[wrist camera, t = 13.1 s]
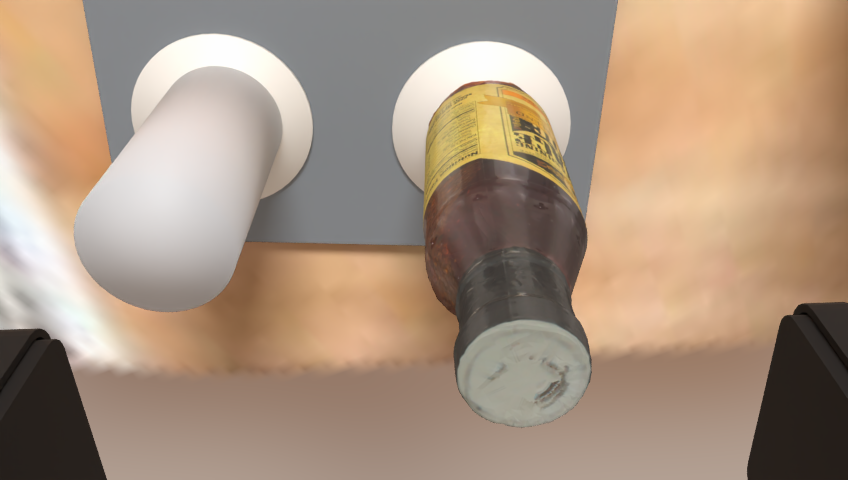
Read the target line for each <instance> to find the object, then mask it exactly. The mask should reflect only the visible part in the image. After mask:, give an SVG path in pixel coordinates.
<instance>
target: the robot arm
mask: <svg viewBox="0 0 848 480" xmlns="http://www.w3.org/2000/svg"><path fill="white" fill-rule="evenodd" d="M747 477H748V480H848V303H846V302H834V303H804V304H800V305H798V307H797V308H796V309H795V311H794V314H793V315H787V316H784V317H783V319H782V320H781V323H780V326H779V330H778V335H777V339H776V343H775V348H774V352H773V356H772V361H771V365H770V370H769V374H768V378H767V382H766V387H765V391H764V396H763V401H762V404H761V409H760V413H759V417H758V422H757V426H756V430H755V435H754V439H753V443H752V448H751V452H750V456H749V461H748V467H747ZM0 480H107V478H106V475H105V472H104V469H103V466H102V463H101V460H100V457H99V454H98V451H97V447H96V444H95V441H94V438H93V435H92V432H91V429H90V426H89V423H88V419H87V416H86V413H85V410H84V407H83V404H82V401H81V398H80V395H79V392H78V388H77V386H76V383H75V379H74V376H73V373H72V370H71V367H70V364H69V361H68V357H67V354H66V351H65V348H64V346H63V344H62V343H61V342H60V340H57V339H51V338H50V336H49V334H48V333H47V332H46V331H45V330H43V329H14V330H0Z"/></svg>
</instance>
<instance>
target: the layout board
mask: <svg viewBox="0 0 848 480" xmlns="http://www.w3.org/2000/svg"><path fill="white" fill-rule="evenodd" d="M617 3H618V0H83V5H84V11H85V16H86V22H87V27H88V33H89V39H90V44H91V50H92V55H93V61H94V67H95V72H96V78H97V83H98V89H99V94H100V100H101V106H102V111H103V117H104V122H105V128H106V133H107V139H108V145H109V150H110V156H111V161H112V164H111V166H110V167H109V168H108V170H107V171H106V172H105V174H104V175H103V176H102V177H101V179H100V180H99V181H98V183H97V184H96V185H95V187H94V188H93V189H92V191H91V192H90V193H89V194H88V196H87V197H86V198H85V200H84V201H83V203H82V204H81V206H80V208H79V210H78V213H77V215H76V218H75V224H74V240H75V246H76V249H77V253H78V255H79V257H80V260H81V262H82V264H83V265H84V267H85V269H86V270H87V272H88V273H89V274H90V275H91V277H92V278H93V279H94V280H95V281H96V282H97V283H98V284H99V285H100V286H101V287H102V288H104V289H105V290H106V291H107V292H109V293H110V294H112V295H113V296H115V297H116V298H118V299H120V300H122V301H124V302H126V303H128V304H131V305H133V306H136V307H139V308H143V309H146V310H152V311H159V312H178V311H185V310H189V309H193V308H196V307H199V306H201V305H204V304H205V303H207V302H209V301H211V300H212V299H214V298H215V297H216V296H217V295H219V294H220V293H221V292H222V291H223V290H224V288H225V287H226V286H227V284H228V283H229V281H230V279H231V277H232V275H233V273H234V270H235V267H236V265H237V262H238V259H239V256H240V254H241V251H242V248H243V245H244V243H245V242H288V243H333V244H377V245H422V246H425V239H424V233H423V210H424V183H425V151H426V137H427V132H428V129H429V122H430V120H431V118H432V116H433V114H434V112H436V110H437V109H438V108H439V106H440V105H441V103H442V102H443V101H444V100H445V99H446V98H447V97H448V96H449V95H450V94H451V93H453V92H454V91H455V90H456V89H458V88H459V87H460V86H462V85H464V84H467V83H470V82H477V81H487V80H492V81H502V82H507V83H510V82H511V83H513V84H515V85H516V86H518V87H520V88H521V89H522V90H523V91H524V92H526V93H527V94H528V95H530V96H531V97H532V98H533V99H534V100H535V101H536V102H537V103H538V104H539V105H540V106H541V107H542V109H543V110H544V112H545V114H546V115H547V117H548V119H549V122H550V124H551V127H552V130H553V133H554V135H555V138H556V141H557V144H558V146H559V149H560V152H561V155H562V158H563V160H564V162H565V166H566V168H567V171H568V174H569V177H570V179H571V182H572V185H573V189H574V192H575V195H576V198H577V200H578V203H579V206H580V208H581V211H582V215H583V218H584V220H585V219H586V212H587V205H588V198H589V192H590V185H591V178H592V171H593V165H594V158H595V151H596V144H597V138H598V131H599V124H600V118H601V111H602V104H603V97H604V91H605V84H606V77H607V70H608V64H609V57H610V50H611V43H612V37H613V30H614V23H615V17H616V10H617Z"/></svg>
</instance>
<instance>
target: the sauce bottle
mask: <svg viewBox="0 0 848 480" xmlns="http://www.w3.org/2000/svg"><path fill="white" fill-rule="evenodd" d="M423 233H424V239H425V261H426V270H427V274H428V278H429V280H430V282H431V285H432V288H433V290H434V292H435V294H436V297H437V299H438V300H439V301H440V302H441V303H442V304H443V305H444V306H445V307H446V308H447V310H449V311H450V312H451V313H453V314H454V315H456V316H457V319H458V322H459V334H458V337H457V339H456V342H455V346H454V363H455V374H456V382H457V385H458V389H459V392H460V394H461V395H462V397H463V398H464V399H465V401H466V402H467V403H468V405H469V406H470V407H471V409H472V410H473V411H474V412H475V413H477V414H478V415H479V416H481V417H483V418H485V419H486V420H489V421H491V422H493V423H500V424H505V425H507V426H513V427H531V426H536V425H541V424H544V423H548V422H552V421H554V420H555V419H557V418H559V417H561V416H563V415H564V414H566V413H567V412H568V411H569V410H571V409H573V408H574V406H576V404H577V403H578V402H579V400H580V399H581V397H582V396H583V394H584V392H585V390H586V388H587V386H588V384H589V382H590V378H591V373H592V371H591V356H590V351H589V345H588V339H587V337H586V334H585V332H584V329H583V327H582V325H581V323H580V322H579V320H578V319H577V318H576V317H575V314H574V312H573V309H572V305H571V301H572V300H571V295H572V292H573V289H574V286H575V282H576V279H577V276H578V273H579V270H580V267H581V264H582V261H583V258H584V255H585V252H586V248H587V229H586V224H585V220H584V218H583V215H582V211H581V208H580V206H579V203H578V200H577V198H576V195H575V192H574V189H573V185H572V182H571V179H570V177H569V174H568V171H567V168H566V166H565V162H564V160H563V158H562V155H561V152H560V149H559V146H558V144H557V141H556V138H555V135H554V133H553V130H552V127H551V124H550V122H549V119H548V117H547V115H546V114H545V112H544V110H543V109H542V107H541V106H540V105H539V104H538V103H537V102H536V101H535V100H534V99H533V98H532V97H531V96H530V95H528V94H527V93H526V92H524V91H523V90H522V89H521V88H520V87H518V86H516V85H515V84H513V83H511V82H510V83H507V82H502V81H492V80H487V81H477V82H470V83H467V84H464V85H462V86H460V87H459V88H458V89H456V90H455V91H454V92H453V93H451V94H450V95H449V96H448V97H447V98H446V99H445V100H444V101H443V102H442V103H441V105H440V106H439V108H438V109H437V110H436V112H434V114H433V116H432V118H431V120H430V122H429V129H428V132H427V137H426V151H425V183H424V210H423Z"/></svg>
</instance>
